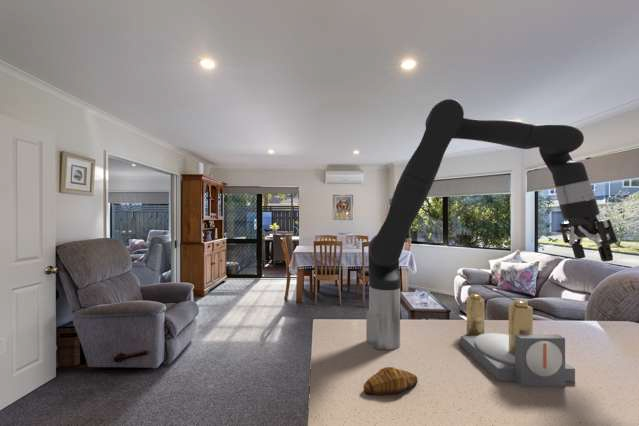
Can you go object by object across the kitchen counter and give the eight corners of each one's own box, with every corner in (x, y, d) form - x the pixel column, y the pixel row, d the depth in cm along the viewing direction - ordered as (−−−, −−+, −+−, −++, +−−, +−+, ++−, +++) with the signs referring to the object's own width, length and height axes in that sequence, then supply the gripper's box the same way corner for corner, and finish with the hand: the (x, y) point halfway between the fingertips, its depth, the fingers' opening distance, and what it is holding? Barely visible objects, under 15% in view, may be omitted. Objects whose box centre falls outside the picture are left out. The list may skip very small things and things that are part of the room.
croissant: (371, 405, 60) (371, 381, 60) (357, 386, 66) (357, 364, 66) (426, 392, 64) (426, 370, 64) (408, 376, 70) (408, 355, 70)
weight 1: (477, 340, 89) (477, 298, 89) (463, 334, 94) (463, 293, 94) (488, 337, 91) (487, 296, 91) (473, 331, 96) (473, 292, 96)
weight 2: (525, 360, 69) (524, 305, 69) (504, 351, 74) (504, 300, 74) (537, 356, 71) (537, 303, 71) (516, 347, 76) (516, 297, 76)
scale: (505, 387, 65) (505, 339, 65) (461, 345, 86) (461, 309, 86) (585, 388, 65) (585, 339, 65) (521, 346, 85) (521, 309, 85)
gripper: (544, 205, 85) (559, 259, 84) (582, 199, 71) (601, 264, 70) (571, 200, 85) (586, 255, 83) (615, 193, 70) (634, 259, 69)
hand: (593, 259), depth 76 cm, fingers open, 8 cm apart
